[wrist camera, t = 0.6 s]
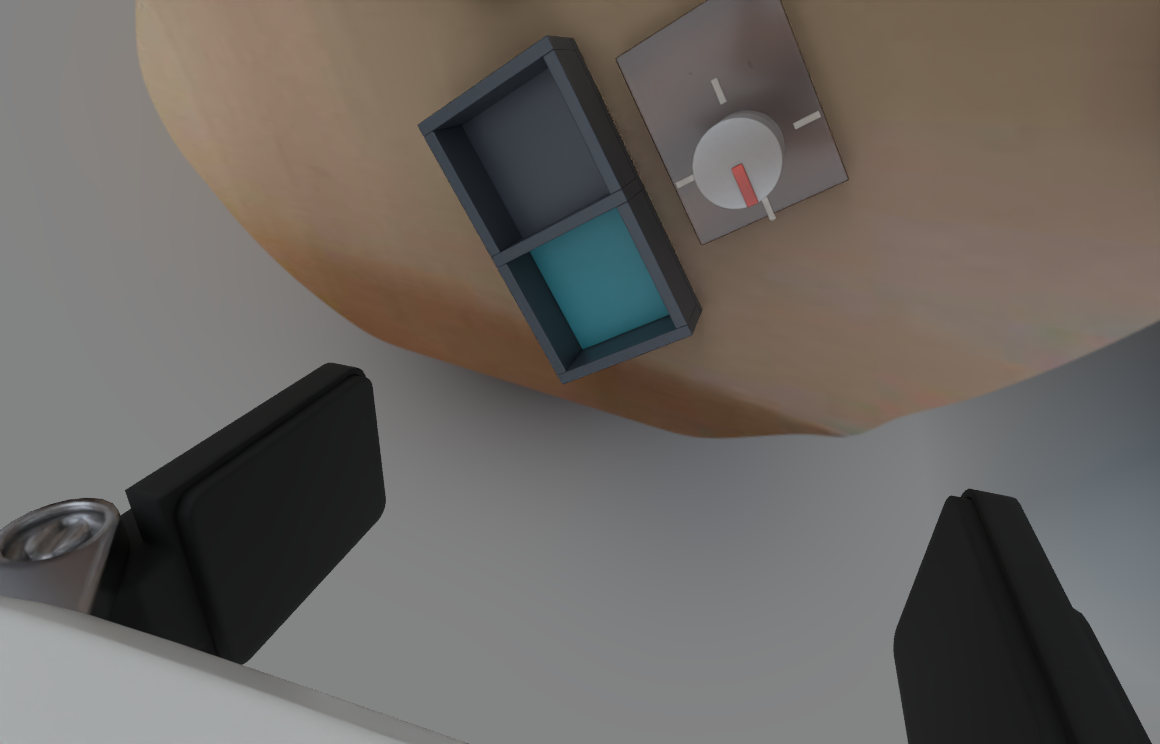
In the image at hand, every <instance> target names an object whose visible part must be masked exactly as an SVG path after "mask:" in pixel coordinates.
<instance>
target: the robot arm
mask: <svg viewBox="0 0 1160 744" xmlns="http://www.w3.org/2000/svg"><path fill="white" fill-rule="evenodd" d="M125 492H126V495H127V498H128V500H129V503H130V506H131V509H130V510H128V511H127V512H125V513H124V514H122V515H121V516H120V513H119V511H118V509H117V508H116V507H115V505H114V504H113V503H111V502H108V501H106V500H103V499H95V498H80V499H70V500H66V501H62V502H57V503H53V504H50V505H47V506H44V507H41V508H39V509H36V510H34V511H31V512H29V513H27V514H25V515H23V516H21V517H19V518H17V519H15V520H14V521H12V522H11V523H9V524H8V525H6V526H5V527H4V528H2V529H1V530H0V744H468V743H465V742H462V741H459V740H456V739H454V738H451V737H448V736H445V735H442V734H439V733H436V732H434V731H431V730H428V729H425V728H422V727H419V726H416V725H414V724H411V723H408V722H405V721H402V720H399V719H396V718H393V717H390V716H388V715H385V714H382V713H379V712H376V711H373V710H370V709H368V708H365V707H362V706H359V705H356V704H353V703H350V702H347V701H345V700H342V699H339V698H336V697H333V696H330V695H328V694H325V693H322V692H319V691H316V690H313V689H310V688H307V687H304V686H301V685H298V684H295V683H292V682H290V681H286V680H284V679H281V678H278V677H275V676H272V675H269V674H266V673H263V672H260V671H258V670H255V669H252V668H249V667H246V666H243V665H242V664H244V663H246V662H247V661H248V660H249V659H251V657H253V655H254V654H255V653H256V652H257V651H258V650H259V649H260V648H261V647H262V646H263V645H264V644H265V642H266V641H267V640H268V639H269V638H270V637H271V636H272V635H273V634H274V632H276V630H277V629H278V628H279V627H280V626H281V625H282V624H283V623H284V622H285V621H286V620H287V619H288V617H289V616H290V615H291V614H292V613H293V612H294V611H295V610H296V609H297V608H298V607H299V605H300V604H301V603H302V602H303V601H304V600H305V599H306V598H307V597H308V596H309V595H310V593H311V592H312V591H313V590H314V589H315V588H316V587H317V586H318V585H319V584H320V583H321V582H322V581H323V579H324V578H325V577H326V576H327V575H328V574H329V573H330V572H331V571H332V570H333V569H334V567H335V566H336V565H337V564H338V563H339V562H340V561H341V560H342V559H343V558H344V557H345V556H346V554H347V553H348V552H349V551H350V550H351V549H352V548H353V547H354V546H355V545H356V544H357V543H358V541H359V540H360V539H361V538H362V537H363V536H364V535H365V534H366V533H367V532H368V531H369V529H370V528H371V527H372V526H373V525H374V524H375V523H376V522H377V521H378V520H379V518H380V517H381V515H382V513H383V511H384V508H385V503H386V496H385V489H384V480H383V471H382V463H381V454H380V446H379V437H378V429H377V420H376V412H375V404H374V395H373V387H372V383H371V381H370V380H369V379H368V378H366V376H365V374H364V373H363V371H362V370H361V369H359V368H356V367H351V366H346V365H341V364H336V363H327V364H324V365H322V366H321V367H320V368H318V369H316V370H314V371H313V372H311V373H310V374H308V375H307V376H305V377H303V378H302V379H300V380H299V381H297V382H295V383H294V384H293V385H291V386H289V387H288V388H286V389H284V390H283V391H281V392H280V393H278V394H277V395H275V396H273V397H272V398H270V399H269V400H267V401H266V402H264V403H262V404H261V405H259V406H258V407H256V408H254V409H253V410H252V411H250V412H248V413H247V414H245V415H243V416H242V417H240V418H239V419H237V420H235V421H234V422H232V423H231V424H229V425H228V426H226V427H224V428H223V429H221V430H220V431H218V432H216V433H215V434H213V435H212V436H210V437H209V438H207V439H205V440H204V441H202V442H201V443H199V444H198V445H196V446H194V447H193V448H191V449H190V450H188V451H186V452H185V453H184V454H182V455H180V456H179V457H177V458H175V459H174V460H172V461H171V462H169V463H167V464H166V465H164V466H163V467H161V468H160V469H158V470H157V471H155V472H153V473H152V474H150V475H148V476H147V477H146V478H144V479H142V480H141V481H139V482H137V483H136V484H134V485H133V486H131V487H130V488H128V489H126V490H125ZM894 659H895V665H896V671H897V677H898V683H899V689H900V695H901V701H902V708H903V714H904V720H905V726H906V731H907V738H908V744H1152V743H1151V741H1150V739H1149V738H1148V735H1147V734H1146V732H1145V730H1144V728H1143V726H1142V725H1141V722H1140V720H1139V718H1138V716H1137V715H1136V713H1135V711H1134V709H1133V707H1132V705H1131V703H1130V701H1129V699H1128V697H1127V695H1126V693H1125V692H1124V690H1123V688H1122V686H1121V684H1120V682H1119V680H1118V678H1117V676H1116V674H1115V672H1114V671H1113V669H1112V667H1111V665H1110V663H1109V661H1108V659H1107V657H1106V655H1105V654H1104V651H1103V649H1102V648H1101V646H1100V644H1099V642H1098V640H1097V638H1096V636H1095V634H1094V632H1093V630H1092V628H1091V627H1090V625H1089V623H1088V622H1087V620H1086V619H1085V617H1084V616H1083V615H1082V613H1080V612H1078V611H1077V610H1075V609H1074V608H1073V607H1072V605H1071V603H1070V601H1069V600H1068V597H1067V596H1066V594H1065V592H1064V590H1063V588H1062V586H1061V584H1060V582H1059V580H1058V578H1057V576H1056V574H1055V572H1054V570H1053V568H1052V566H1051V564H1050V562H1049V560H1048V558H1047V556H1046V554H1045V552H1044V550H1043V548H1042V546H1041V544H1040V542H1039V540H1038V538H1037V536H1036V535H1035V533H1034V531H1033V529H1032V527H1031V525H1030V523H1029V521H1028V519H1027V517H1026V515H1025V513H1024V511H1023V509H1022V507H1021V505H1020V503H1019V502H1018V501H1017V499H1015V498H1013V497H1009V496H1004V495H999V494H993V493H989V492H983V491H979V490H973V489H967V490H965V492H964V493H963V494H962V496H961V497H956V496H949V497H948V499H947V500H946V502H945V504H944V506H943V509H942V511H941V514H940V516H939V519H938V522H937V524H936V527H935V529H934V532H933V535H932V537H931V540H930V542H929V545H928V547H927V550H926V553H925V555H924V558H923V560H922V563H921V566H920V568H919V571H918V573H917V576H916V579H915V581H914V584H913V586H912V589H911V591H910V594H909V597H908V599H907V602H906V605H905V607H904V610H903V612H902V615H901V618H900V620H899V623H898V625H897V628H896V631H895V636H894Z"/></svg>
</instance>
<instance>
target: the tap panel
mask: <svg viewBox="0 0 1160 744" xmlns="http://www.w3.org/2000/svg"><path fill="white" fill-rule="evenodd" d="M616 61H617V64H618V66H619V68H620V70H621V72H622V74H623V77H624V79H625V81H626V83H627V85H628V87H629V90H630V92H631V94H632V96H633V98H634V100H635V103H636V105H637V107H638V109H639V111H640V113H641V116H642V118H643V120H644V122H645V124H646V126H647V129H648V131H649V133H650V135H651V137H652V139H653V142H654V144H655V146H656V148H657V150H658V153H659V155H660V157H661V159H662V161H663V163H664V166H665V168H666V170H667V172H668V174H669V176H670V179H671V181H672V183H673V185H674V187H675V189H676V192H677V194H678V196H679V198H680V200H681V202H682V205H683V207H684V209H685V211H686V213H687V215H688V218H689V220H690V222H691V224H692V226H693V228H694V231H695V233H696V235H697V237H698V239H699V241H700V244H701V245H704V244H707V243H709V242H711V241H713V240H716V239H718V238H720V237H722V236H724V235H727V234H729V233H731V232H733V231H736V230H738V229H740V228H742V227H745V226H747V225H749V224H751V223H754V222H756V221H758V220H760V219H763V218H765V217H767V216H768V217H769V219H770V221H772V220H774V219H776V216H775V214H774V213H776V212H778V211H780V210H783V209H785V208H787V207H789V206H792V205H794V204H796V203H798V202H801V201H803V200H805V199H807V198H809V197H812V196H814V195H816V194H818V193H821V192H823V191H825V190H827V189H830V188H832V187H834V186H836V185H839V184H841V183H843V182H845V181H848V180H849V178H848V175H847V172H846V170H845V167H844V164H843V162H842V159H841V157H840V154H839V151H838V149H837V146H836V144H835V141H834V138H833V136H832V133H831V130H830V128H829V125H828V123H827V120H826V117H825V115H824V112H823V110H822V107H821V104H820V102H819V99H818V96H817V94H816V91H815V89H814V86H813V83H812V81H811V78H810V76H809V73H808V70H807V68H806V65H805V62H804V60H803V57H802V55H801V52H800V49H799V47H798V44H797V42H796V39H795V36H794V34H793V31H792V28H791V26H790V23H789V21H788V18H787V15H786V13H785V10H784V8H783V5H782V2H781V0H706V1H705V2H703V3H702V4H700V5H698V6H697V7H695V8H694V9H692V10H691V11H689V12H687V13H686V14H684V15H683V16H681V17H680V18H678V19H676V20H675V21H673V22H672V23H670V24H669V25H667V26H665V27H664V28H662V29H661V30H659V31H657V32H656V33H654V34H653V35H651V36H650V37H648V38H646V39H645V40H643V41H642V42H640V43H639V44H637V45H635V46H634V47H632V48H631V49H629V50H628V51H626V52H624V53H623V54H621V55H620V56H618V57H617V58H616ZM743 110H753V111H758V112H761V113H764V114H766V115H767V116H769V117H770V118H771V119H773V120H774V121H775V122H776V124H777V125H778V126H779V128H780V130H781V132H782V135H783V138H784V144H785V151H784V159H783V165H782V171H781V174H780V177H779V180H778V182H777V184H776V185H775V187H774V188H773V190H772V191H771V192H770V193H769V195H767V196H766V197H765V198H764V199H763V200H761V201H760V202H758V203H757V204H755V205H753V206H750V207H746V208H742V209H727V208H723V207H720V206H717V205H715V204H713V203H712V202H710V201H709V200H708V199H706V198H705V197H704V196H703V195H702V193H701V192H700V190H699V189H698V187H697V185H696V183H695V180H694V176H693V169H692V163H693V156H694V152H695V149H696V147H697V145H698V143H699V141H700V139H701V138H702V137H703V135H704V134H705V133H706V132H707V131H708V130H709V129H710V128H712V127H713V126H714V125H716V124H717V123H718V122H720V121H721V120H722V119H724V118H725V117H727V116H728V115H730V114H732V113H735V112H738V111H743Z"/></svg>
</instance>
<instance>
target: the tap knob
mask: <svg viewBox="0 0 1160 744" xmlns="http://www.w3.org/2000/svg"><path fill="white" fill-rule="evenodd" d="M784 151H785V144H784V138H783V135H782V132H781V130H780V128H779V126H778V125H777V124H776V122H775V121H774V120H773V119H771V118H770V117H769V116H767V115H766V114H764V113H761V112H758V111H753V110H743V111H738V112H735V113H732V114H730V115H728V116H727V117H725V118H724V119H722V120H721V121H720V122H718V123H717V124H716V125H714V126H713V127H712V128H710V129H709V130H708V131H707V132H706V133H705V134H704V135H703V137H702V138H701V139H700V141H699V143H698V145H697V147H696V149H695V152H694V156H693V163H692V169H693V176H694V180H695V183H696V185H697V187H698V189H699V190H700V192H701V193H702V195H703V196H704V197H705V198H706V199H708V200H709V201H710V202H712V203H713V204H715V205H717V206H720V207H723V208H727V209H742V208H746V207H750V206H753V205H755V204H757V203H758V202H760V201H761V200H763V199H764V198H765V197H766V196H767V195H769V193H770V192H771V191H772V190H773V188H774V187H775V185H776V184H777V182H778V180H779V177H780V174H781V171H782V165H783V159H784Z"/></svg>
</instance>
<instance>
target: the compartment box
mask: <svg viewBox="0 0 1160 744" xmlns="http://www.w3.org/2000/svg"><path fill="white" fill-rule="evenodd" d="M418 127H419V129H420V131H421V133H422V134H423V136H424V138H425V140H426V142H427V143H428V145H429V147H430V149H431V151H432V152H433V154H434V156H435V158H436V160H437V161H438V163H439V165H440V167H441V168H442V170H443V172H444V174H445V176H446V177H447V179H448V181H449V183H450V185H451V186H452V188H453V190H454V192H455V193H456V195H457V197H458V199H459V201H460V202H461V204H462V206H463V208H464V210H465V211H466V213H467V215H468V217H469V219H470V220H471V222H472V224H473V226H474V227H475V229H476V231H477V233H478V235H479V236H480V238H481V240H482V242H483V244H484V245H485V247H486V249H487V251H488V252H489V254H490V256H491V257H492V260H493V261H494V263H495V265H496V267H497V268H498V270H499V272H500V274H501V276H502V277H503V279H504V281H505V283H506V285H507V286H508V288H509V290H510V292H511V294H512V295H513V297H514V299H515V301H516V302H517V304H518V306H519V308H520V310H521V311H522V313H523V315H524V317H525V319H526V320H527V322H528V324H529V326H530V327H531V329H532V331H533V333H534V335H535V336H536V338H537V340H538V342H539V344H540V345H541V347H542V349H543V351H544V352H545V354H546V356H547V358H548V360H549V361H550V363H551V365H552V367H553V369H554V370H555V372H556V374H557V375H558V377H559V379H560V381H561V383H562V384H565V383H568V382H571V381H573V380H576V379H578V378H581V377H584V376H586V375H589V374H592V373H594V372H597V371H600V370H602V369H605V368H607V367H610V366H613V365H615V364H618V363H621V362H623V361H626V360H628V359H631V358H634V357H636V356H639V355H642V354H644V353H647V352H649V351H652V350H655V349H657V348H660V347H663V346H665V345H668V344H670V343H673V342H676V341H678V340H681V339H684V338H686V337H689V336H692V335H693V332H694V329H695V327H696V324H697V322H698V319H699V317H700V314H701V312H702V308H701V306H700V304H699V302H698V300H697V298H696V296H695V294H694V292H693V289H692V287H691V285H690V283H689V281H688V279H687V277H686V275H685V273H684V270H683V268H682V266H681V264H680V262H679V260H678V258H677V256H676V254H675V251H674V249H673V247H672V245H671V243H670V241H669V239H668V237H667V235H666V233H665V230H664V228H663V226H662V224H661V222H660V220H659V218H658V216H657V214H656V211H655V209H654V207H653V205H652V203H651V201H650V199H649V197H648V195H647V192H646V190H645V188H644V186H643V184H642V182H641V180H640V178H639V176H638V174H637V171H636V169H635V167H634V165H633V163H632V161H631V159H630V157H629V155H628V152H627V150H626V148H625V146H624V144H623V142H622V140H621V138H620V136H619V133H618V131H617V129H616V127H615V125H614V123H613V121H612V119H611V117H610V114H609V112H608V110H607V108H606V106H605V104H604V102H603V100H602V98H601V96H600V93H599V91H598V89H597V87H596V85H595V83H594V81H593V79H592V77H591V74H590V72H589V70H588V68H587V66H586V64H585V62H584V60H583V58H582V55H581V53H580V51H579V49H578V47H577V45H576V43H575V41H574V39H573V38H566V37H557V36H548V35H547V36H545V37H544V38H542V39H541V40H539V41H538V42H537V43H535V44H534V45H532V46H531V47H529V48H528V49H526V50H525V51H524V52H522V53H521V54H519V55H518V56H516V57H515V58H513V59H512V60H511V61H509V62H508V63H506V64H505V65H503V66H502V67H500V68H499V69H498V70H496V71H495V72H493V73H492V74H490V75H489V76H487V77H486V78H485V79H483V80H482V81H480V82H479V83H477V84H476V85H474V86H473V87H472V88H470V89H469V90H467V91H466V92H464V93H463V94H462V95H460V96H459V97H457V98H456V99H454V100H453V101H451V102H450V103H449V104H447V105H446V106H444V107H443V108H441V109H440V110H438V111H437V112H436V113H434V114H433V115H431V116H430V117H428V118H427V119H425V120H424V121H423V122H421V123H420V124H418Z"/></svg>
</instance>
